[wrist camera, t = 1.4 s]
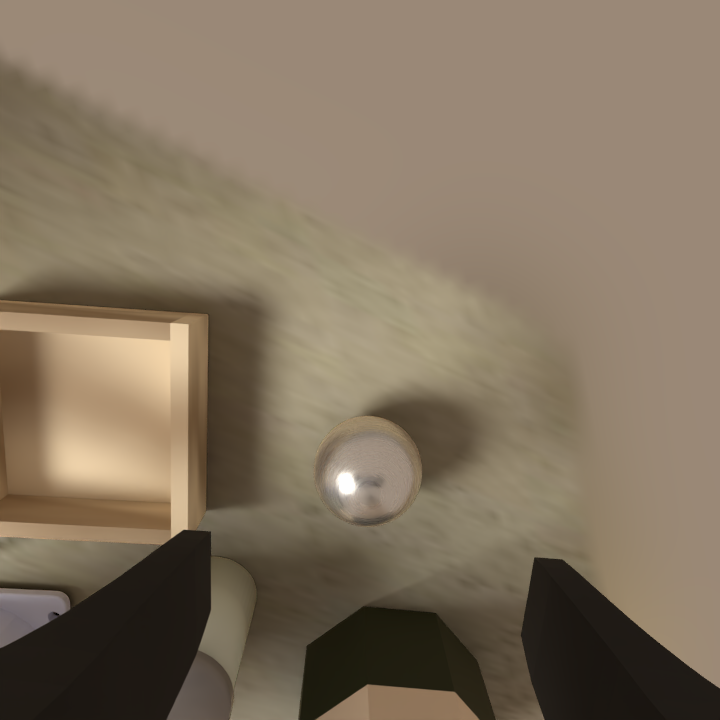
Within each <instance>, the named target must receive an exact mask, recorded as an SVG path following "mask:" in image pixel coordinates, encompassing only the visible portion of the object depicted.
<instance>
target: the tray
mask: <svg viewBox="0 0 720 720" xmlns="http://www.w3.org/2000/svg"><path fill="white" fill-rule="evenodd" d="M207 400H208V314H198V313H183V312H169V311H154V310H139V309H125V308H110V307H95V306H81V305H66V304H51V303H37V302H22V301H7V300H0V537H19V538H39V539H59V540H79V541H98V542H118V543H138V544H158V545H163V544H165V543H166V542H167V541H169V540H170V539H171V538H173V537H174V536H175V535H177V534H178V533H180V532H181V531H183V530H195V531H196V529H197V527H198V526H199V524H200V522H201V520H202V518H203V516H204V514H205V512H206V487H207Z"/></svg>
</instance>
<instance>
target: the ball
mask: <svg viewBox="0 0 720 720" xmlns="http://www.w3.org/2000/svg"><path fill="white" fill-rule="evenodd" d="M421 480H422V463H421V458H420V454H419V451H418V449H417V447H416V445H415V443H414V441H413V440H412V438H411V437H410V436H409V434H408V433H407V432H406V431H405V430H404V429H402V428H401V427H400V426H398V425H397V424H395V423H394V422H392V421H390V420H387V419H385V418H381V417H376V416H360V417H355V418H351V419H348V420H346V421H344V422H342V423H340V424H338V425H337V426H336V427H334V428H333V429H332V430H331V431H330V432H329V433H328V434H327V435H326V437H325V438H324V439H323V441H322V442H321V444H320V446H319V448H318V450H317V453H316V457H315V460H314V481H315V486H316V489H317V492H318V494H319V496H320V498H321V500H322V502H323V503H324V505H325V506H326V507H327V508H328V509H329V511H331V512H332V513H333V514H334V515H335V516H337V517H338V518H339V519H341V520H343V521H345V522H347V523H350V524H352V525H356V526H362V527H374V526H380V525H384V524H387V523H389V522H391V521H393V520H395V519H397V518H398V517H399V516H401V515H402V514H403V513H404V512H405V511H407V509H408V508H409V507H410V506H411V505H412V503H413V502H414V500H415V498H416V496H417V494H418V492H419V489H420V486H421Z"/></svg>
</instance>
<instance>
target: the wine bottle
mask: <svg viewBox="0 0 720 720" xmlns="http://www.w3.org/2000/svg"><path fill="white" fill-rule="evenodd" d="M298 720H496V719H495V716H494V713H493V710H492V706H491V703H490V700H489V697H488V694H487V690H486V687H485V684H484V681H483V678H482V675H481V671H480V668H479V665H478V662H477V660H476V659H475V658H474V657H473V656H472V655H471V653H470V652H469V651H468V650H467V649H466V648H465V646H464V645H463V644H462V643H461V642H460V641H459V640H458V638H457V637H456V636H455V635H454V634H453V633H452V631H451V630H450V629H449V628H448V627H447V626H446V624H445V623H444V622H443V621H442V620H441V619H440V618H439V616H438V615H437V614H436V613H428V612H417V611H406V610H396V609H385V608H374V607H362V608H361V609H360V610H358V611H357V612H355V613H354V614H352V615H351V616H350V617H348V618H347V619H345V620H344V621H342V622H341V623H340V624H338V625H337V626H335V627H334V628H332V629H331V630H330V631H328V632H327V633H325V634H324V635H322V636H321V637H320V638H318V639H317V640H315V641H314V642H312V643H311V644H309V645H308V646H307V650H306V659H305V667H304V675H303V684H302V692H301V700H300V709H299V719H298Z"/></svg>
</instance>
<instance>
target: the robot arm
mask: <svg viewBox="0 0 720 720" xmlns="http://www.w3.org/2000/svg"><path fill="white" fill-rule="evenodd" d="M53 612H57V613H58V614H59V615H60V616H56V615H55V614H54V613H53ZM210 612H211V532H208V531H195V530H183V531H181V532H180V533H178V534H177V535H175V536H174V537H173V538H171V539H170V540H169V541H167V542H166V543H165V544H163V545H162V546H161V547H159V548H158V549H157V550H155V551H154V552H153V553H151V554H150V555H149V556H147V557H146V558H145V559H143V560H142V561H140V562H139V563H138V564H136V565H135V566H133V567H132V568H131V569H129V570H128V571H127V572H125V573H124V574H122V575H121V576H120V577H118V578H117V579H116V580H114V581H113V582H111V583H110V584H108V585H107V586H105V587H104V588H102V589H101V590H99V591H97V592H96V593H94V594H93V595H91V596H90V597H88V598H87V599H85V600H84V601H82V602H81V603H79V604H78V605H76V606H75V607H73V608H72V609H70V600H69V597H68V596H67V595H66V594H65V593H63V592H60V591H50V590H29V589H7V588H0V720H167V718H168V715H169V713H170V711H171V709H172V707H173V705H174V703H175V700H176V698H177V696H178V694H179V692H180V690H181V688H182V685H183V683H184V681H185V679H186V677H187V675H188V672H189V670H190V668H191V666H192V664H193V661H194V659H195V657H196V655H197V652H198V649H199V646H200V643H201V640H202V637H203V634H204V631H205V628H206V625H207V621H208V618H209V615H210ZM521 637H522V642H523V646H524V651H525V656H526V660H527V665H528V669H529V673H530V677H531V681H532V685H533V688H534V690H535V693H536V696H537V699H538V702H539V705H540V708H541V711H542V713H543V716H544V719H545V720H720V688H718V687H717V686H715V685H714V684H712V683H711V682H709V681H708V680H707V679H705V678H704V677H702V676H701V675H700V674H698V673H697V672H696V671H694V670H693V669H692V668H690V667H689V666H687V665H686V664H685V663H684V662H682V661H681V660H680V659H679V658H677V657H676V656H675V655H674V654H672V653H671V652H670V651H668V650H667V649H666V648H665V647H663V646H662V645H661V644H660V643H658V642H657V641H656V640H655V639H653V638H652V637H651V636H650V635H649V634H647V633H646V632H645V631H644V630H643V629H641V628H640V627H639V626H638V625H637V624H635V623H634V622H633V621H632V620H631V619H630V618H628V617H627V616H626V615H625V614H624V613H623V612H622V611H620V610H619V609H618V608H617V607H616V606H615V605H614V604H612V603H611V602H610V601H609V600H608V599H607V598H606V597H605V596H604V595H602V594H601V593H600V592H599V591H598V590H597V589H596V588H595V587H593V586H592V585H591V584H590V583H589V582H588V581H587V580H586V579H585V578H583V577H582V576H581V575H580V574H579V573H578V572H577V571H575V570H574V569H573V568H572V567H571V566H570V565H568V564H567V563H566V562H565V561H563V560H560V559H548V558H535V557H534V563H533V569H532V575H531V581H530V586H529V592H528V598H527V604H526V609H525V615H524V621H523V627H522V633H521Z"/></svg>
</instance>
